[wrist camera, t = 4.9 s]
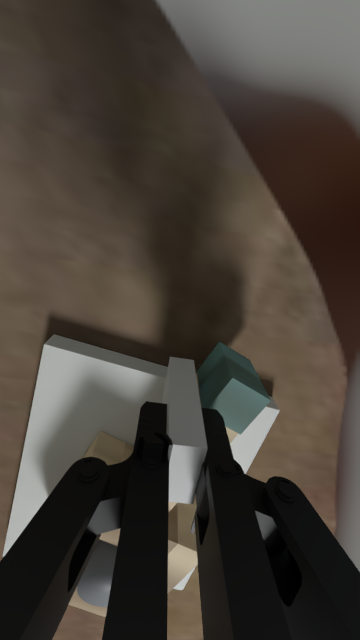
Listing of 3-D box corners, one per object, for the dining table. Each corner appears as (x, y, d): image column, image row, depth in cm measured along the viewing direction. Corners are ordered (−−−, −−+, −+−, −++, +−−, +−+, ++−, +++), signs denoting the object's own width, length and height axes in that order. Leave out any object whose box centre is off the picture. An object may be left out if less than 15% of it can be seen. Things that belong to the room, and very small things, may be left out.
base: (182, 570, 27) (184, 698, 20) (12, 537, 25) (-53, 665, 18) (272, 397, 20) (324, 492, 13) (54, 334, 18) (-21, 407, 11)
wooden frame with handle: (142, 542, 23) (133, 626, 18) (49, 504, 21) (14, 586, 17) (285, 381, 18) (324, 439, 13) (179, 316, 16) (181, 356, 12)
